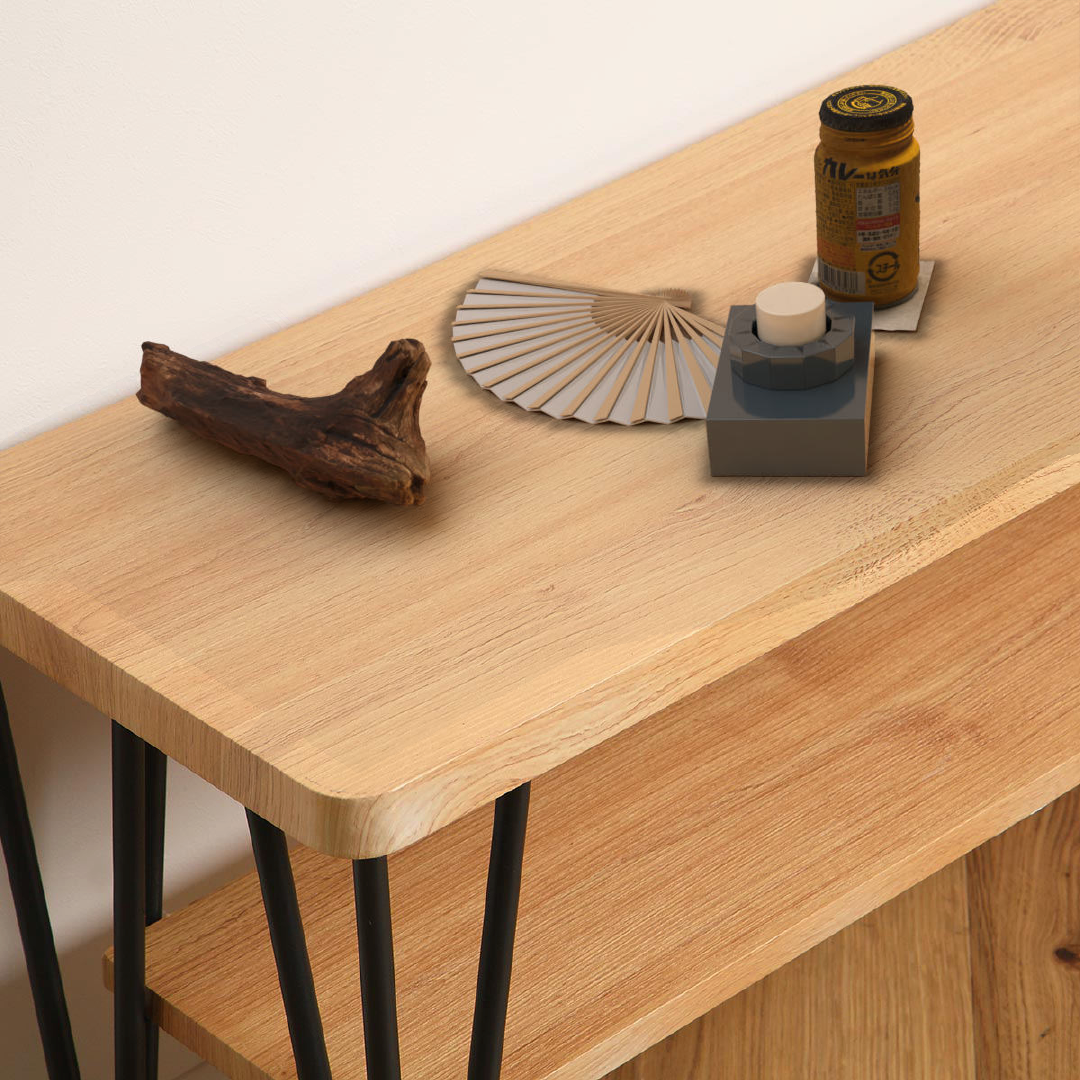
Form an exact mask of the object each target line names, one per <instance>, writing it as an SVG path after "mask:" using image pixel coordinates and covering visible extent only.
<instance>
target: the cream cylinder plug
mask: <svg viewBox="0 0 1080 1080" xmlns="http://www.w3.org/2000/svg"><path fill="white" fill-rule="evenodd" d="M754 301H755V303H754V304H756V319H757V334H758V337H759V339H760V340H761V341H762V342H766V343H769V344H773V345H776V346H800V345H803V344H806V343H810V342H813V341H816V340H819V339H820V338H822V337H823V336H824V335H825V333H826V306H825V294H824V292H823V291H822V290H821V289H820V288H819V287H817V286H815V285H813V284H809V283H808V282H804V281H785V282H780V283H776V284H772V285H770V286H767V287H765V288H764V289H762V290H761V291H760V292H759V293H758V294H757V295H756V298H755V300H754Z"/></svg>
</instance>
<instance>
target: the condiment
mask: <svg viewBox="0 0 1080 1080" xmlns="http://www.w3.org/2000/svg"><path fill="white" fill-rule="evenodd" d="M914 110H915V107H914V101H913V98H912V96H911V95H910V94H908V92H907V91H905V90H904V89H900V88H898V87H895V86H891V85H884V84H861V85H860V84H859V85H855V86H849V87H846V88H842V89H840V90H838V91H837V90H836V91H834V92H832V93H831V94H829V95H828V96H827V97H826V98H825V99H823V100H822V101H821V105H820V108H819V111H818V117H819V121H820V126H819V129H818V137H819V140H820V142H819V143H818V144H817V146H816V148H815V150H814V154H813V170H814V171H813V172H814V194H815V195H814V196H815V219H816V221H815V222H816V225H815V228H816V259H815V262H814V265H813V266H812V270H811V273H810V275H809V277H808V281H807V283H809V284H813V285H815V286H817V287H819V288H820V289H821V290H822V291H823V292H824V294H825V299H828V300H832V301H836V302H839V303H846V302H874V330H884V331H916V330H917V326H918V322H919V320H920V315H921V312H922V308H923V305H924V302H925V299H926V298H925V297H926V295H927V293H928V289H929V284H930V281H931V279H932V274H933V271H934V266H935V262H936V261H935V260H929V261H927V260H920V253H921V252H920V251H921V249H920V233H921V231H920V230H921V223H920V222H921V210H920V209H921V197H920V195H921V192H920V190H921V189H920V188H921V185H920V184H921V182H920V181H921V177H920V175H921V147H920V143H919V141H918V140H917V139H916V137H915V136H914V132H915V125H916V124H915V121H914V116H913V115H914V114H913V112H914Z"/></svg>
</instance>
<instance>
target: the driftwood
mask: <svg viewBox="0 0 1080 1080" xmlns="http://www.w3.org/2000/svg"><path fill="white" fill-rule="evenodd" d="M140 347H141V348H140V349H141V350H142V357H141V364H140V368H139V374H140V389H139V390H137V392H136V393H135V396H136V398H137V400H138V402H139V404H141V405H142V406H144V407H146V408H148V409H149V410H152V411H155V412H157V413H158V414H161V415H164V417H166V418H169V419H171V420H173V421H175V422H177V423H178V424H180V425H182V426H183V427H184V428H185V429H187V430H188V431H191V432H193V433H194V434H196V435H197V436H199V437H200V438H203V439H206V440H210V441H215V442H217V443H219V444H221V445H223V446H225V447H227V448H230V449H231V450H233V451H235V452H237V453H240V454H244V455H251V456H256V457H258V458H260V459H262V460H264V461H265V462H267V463H269V464H272V465H274V466H277V467H280V468H282V469H283V470H284V471H286V472H288V473H289V476H290V478H291V479H294V480H295V483H296V486H298V487H300V488H302V489H308V490H311V491H314V492H317V493H321V494H322V497H323V498H324V499H325V500H328V501H331V502H336V501H343V500H345V499H355V498H359V499H362V500H363V499H365V498H369V499H373V500H374V499H375V500H380V501H385V502H386V503H387V504H390V505H391V506H393V507H404V508H406V507H408V506H416V507H420V506H422V505H423V504H424V503H425V501H426V498H427V496H426V494H425V491H424V490H425V487H427V485H428V484H429V482H430V480H431V478H432V475H431V473H432V472H431V470H430V463H431V460H430V457H429V455H428V453H427V448H426V442H425V439H424V438H423V436H422V431H421V427H420V409H421V406H422V405H421V404H422V401H423V395H424V393H425V391H426V389H427V387H428V384H429V383H428V382H429V381H428V380H427V377H428V374H429V372H430V370H431V367H432V364H433V363H432V360H431V358H430V355H429V353H428V352H427V351H426V347H425V345H424V343H423V342H422V341H420V340H418V339H416V338H408V337H406V338H404V337H403V338H400V339H397V340H391V341H390V342H389V344H388V345H387V347H386V349H385V350H384V352H383V353H382V354H381V355H380V356H379V357H378V358H377V359H376V361H375V362H374V364H373V365H372V367H371V369H369V370H368V371H366V372H364V373H363V374H360V375H356V376H355V377H353V378H352V379H351V380H349V381H348V382H347V383H346V384H345V387H343V388H342V389H341V390H340V391H338V392H336V393H333V394H329V395H323V396H313V397H309V396H300V395H295V394H291V393H281V392H278V391H275V390H272V389H269V388H268V387H267V379H265V378H262V377H258V376H254V375H251V376H245V375H242V374H236V373H234V372H232V371H229V370H227V369H225V368H223V367H221V366H218V365H216V364H213V363H210V362H208V361H206V360H198V359H195V358H191V357H189V356H187V355H184V354H182V353H179V352H177V351H174V350H171V348H170V346H169V345H167V344H165V343H158V342H155V341H149V340H147V341H142V343H141V345H140Z"/></svg>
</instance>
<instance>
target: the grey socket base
mask: <svg viewBox="0 0 1080 1080" xmlns="http://www.w3.org/2000/svg"><path fill="white" fill-rule="evenodd" d="M825 306H826V333H825V335H824V336H823V337H822V338H820V339H819V340H816V341H813V342H810V343H806V344H803V345H800V346H776V345H773V344H769V343H766V342H762V341H761V340H760V339H759V337H758V334H757V319H756V304H755V303H753V304H731V305H730V306H729V311H728V316H727V320H726V325H725V328H726V329H725V333H724V338H723V342H722V347H721V352H720V356H719V361H718V365H717V370H716V375H715V379H714V384H713V388H712V393H711V397H710V402H709V407H708V411H707V416H706V419H705V429H706V440H707V441H706V443H707V451H708V462H709V473H710V476H712V477H718V476H719V477H720V476H721V477H723V476H724V477H730V476H731V477H732V476H733V477H741V476H742V477H753V476H754V477H857V476H858V477H865V476H867V465H868V454H869V453H868V452H869V441H870V440H869V438H870V429H871V428H870V426H871V413H872V412H871V411H872V399H873V385H874V372H875V360H876V359H875V358H876V343H875V342H876V341H875V339H876V337H875V336H876V335H875V329H874V302H846V303H839V302H836V301H832V300H828V299H825Z"/></svg>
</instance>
